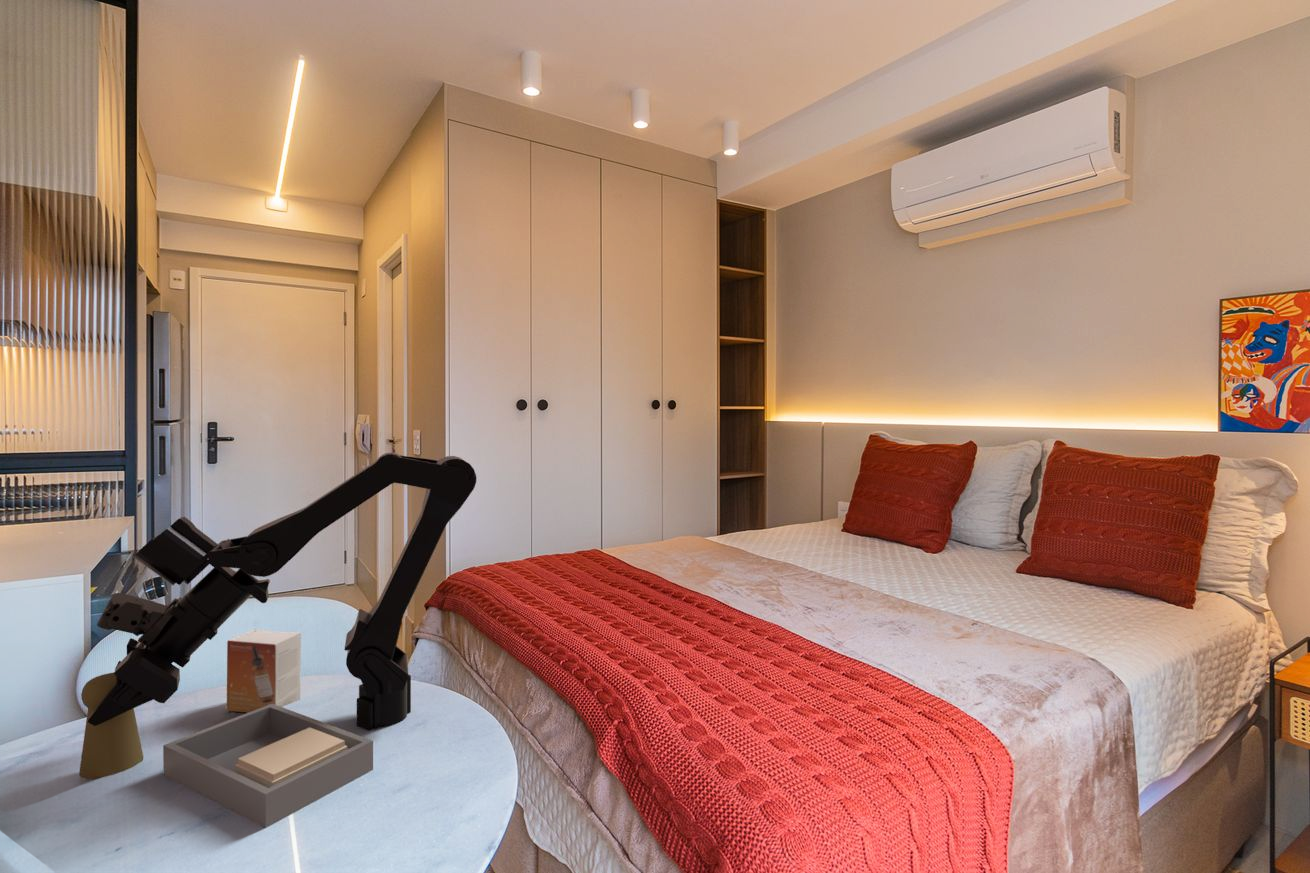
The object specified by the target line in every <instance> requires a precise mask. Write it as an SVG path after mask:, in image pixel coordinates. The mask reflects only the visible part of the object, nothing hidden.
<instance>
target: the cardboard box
mask: <svg viewBox="0 0 1310 873" xmlns="http://www.w3.org/2000/svg"><path fill="white" fill-rule="evenodd" d="M345 750H347V746H346V745H345V741H344V740H342V739H339V738H336V737H334V736H331V735H329V734H326V733H323V732H321V731H318V730H315V729H313V728H310V727H309V728H307V729H305V730H302V731H300V732H298V733H295V734H293V735H291V736H289V737H286V738H284V739H282V740H279V741H277V742H275V743H272V744H270V745H268V746H266V747H263V748H261V749H259V750H256V751H254V752H252V753H249V754H247V755H245V756H243V757H240V758H238V764H236V765H235V773H237V774H239V775H242V776H244V777H246V778H248V779H250V780H252V781H254V782H256V783H259V784H261V785H263V786H265V787H267V788H270V787H272V786H274V785H276V784H278V783H280V782H283V781H285V780H287V779H289V778H291V777H293V776H295V775H297V774H299V773H301V772H303V771H305V770H307V769H309V768H311V767H313V766H315V765H317V764H319V763H321V762H323V761H325V760H327V759H329V758H331V757H333V756H335V755H337V754H339V753H341V752H343V751H345Z"/></svg>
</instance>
